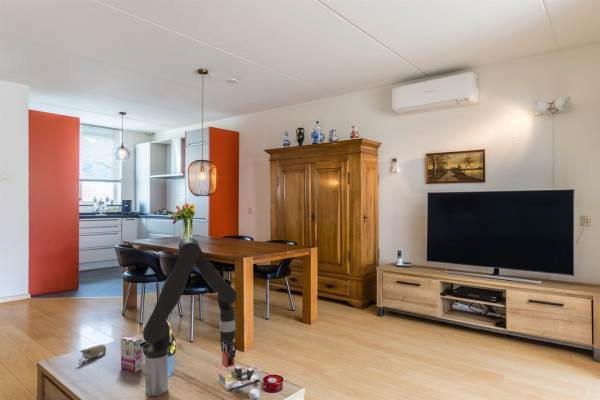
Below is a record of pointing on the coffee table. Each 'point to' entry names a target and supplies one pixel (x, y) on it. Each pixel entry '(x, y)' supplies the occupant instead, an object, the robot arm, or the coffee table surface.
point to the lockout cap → (226, 359)
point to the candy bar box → (131, 354)
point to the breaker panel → (232, 379)
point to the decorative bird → (93, 351)
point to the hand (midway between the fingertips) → (228, 363)
